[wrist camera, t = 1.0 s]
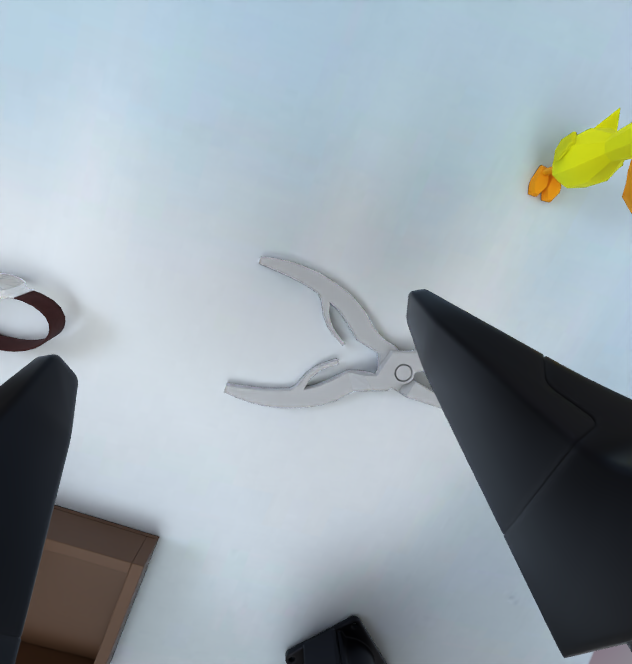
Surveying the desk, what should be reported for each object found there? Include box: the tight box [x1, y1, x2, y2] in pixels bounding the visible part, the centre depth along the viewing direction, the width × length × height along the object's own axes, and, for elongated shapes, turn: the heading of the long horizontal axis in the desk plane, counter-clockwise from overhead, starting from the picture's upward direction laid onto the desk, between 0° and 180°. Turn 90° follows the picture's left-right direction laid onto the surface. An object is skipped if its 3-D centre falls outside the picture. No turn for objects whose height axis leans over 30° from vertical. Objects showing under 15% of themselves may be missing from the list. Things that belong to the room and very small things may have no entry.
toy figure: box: [528, 108, 632, 213], centre depth 19 cm, size 7×4×12 cm, turn 161°
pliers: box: [224, 257, 442, 409], centre depth 24 cm, size 10×2×15 cm
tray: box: [15, 505, 159, 664], centre depth 24 cm, size 17×12×3 cm
